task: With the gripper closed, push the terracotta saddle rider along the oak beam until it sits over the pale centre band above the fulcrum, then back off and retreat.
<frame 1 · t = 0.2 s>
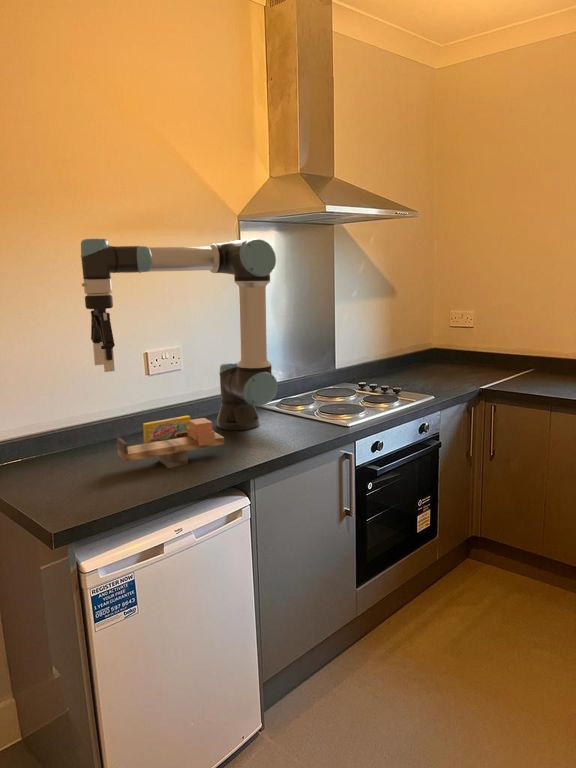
hand: (104, 368, 173), 28 cm above the counter, fingers open, 13 cm apart
beam: (173, 462, 174), on the counter
rider: (200, 431, 177), point 8 cm above the counter, slide at -9.0 cm
candy box: (168, 444, 193), on the counter
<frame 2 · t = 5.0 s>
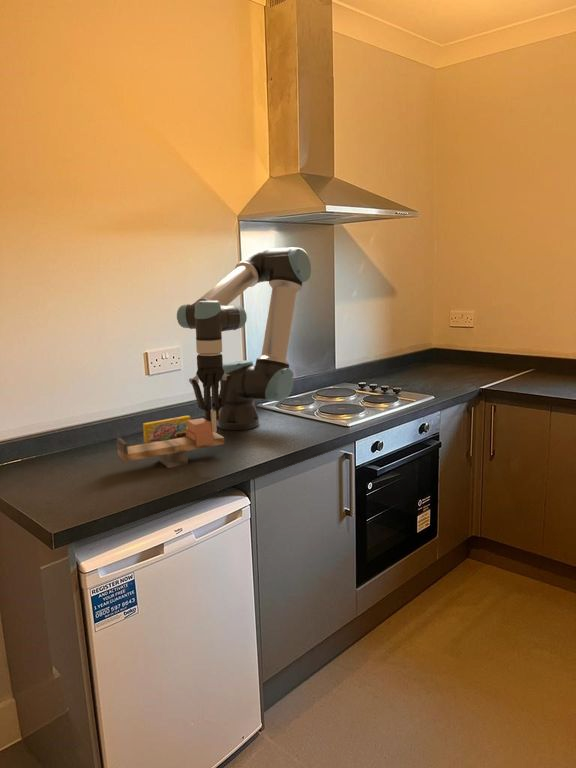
hand: (212, 431, 179), 8 cm above the counter, fingers closed
rider: (199, 431, 177), point 8 cm above the counter, slide at -8.5 cm, touching gripper
everything else where it was.
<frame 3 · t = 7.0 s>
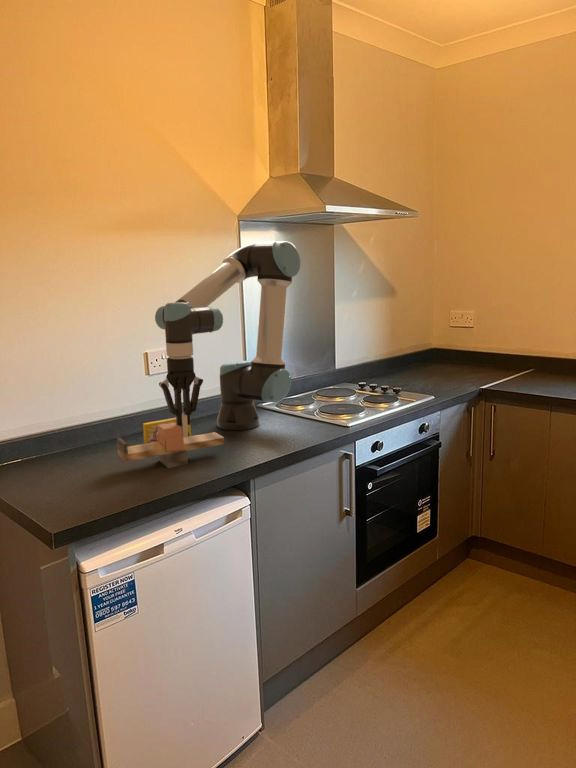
hand: (184, 435, 175), 7 cm above the counter, fingers closed
rider: (169, 436, 173), point 8 cm above the counter, slide at 0.6 cm, touching gripper
everything else where it was.
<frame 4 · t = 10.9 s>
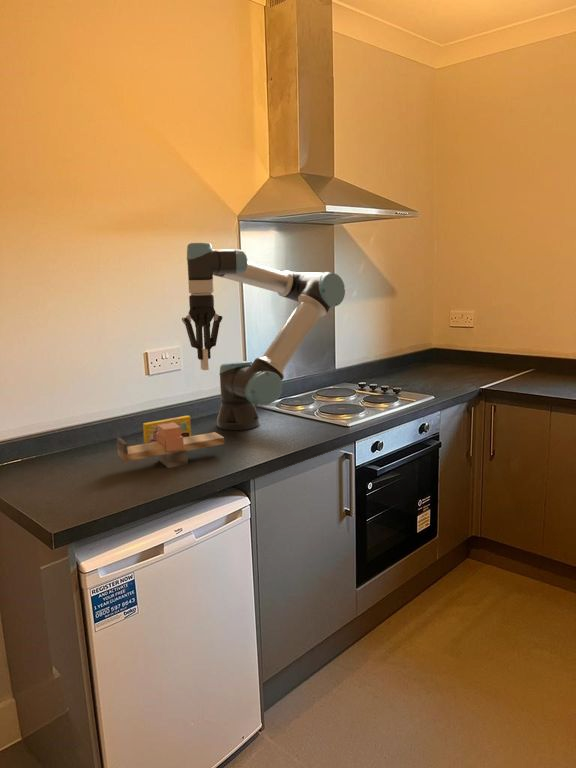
hand: (204, 369, 188), 24 cm above the counter, fingers closed
rider: (169, 436, 173), point 8 cm above the counter, slide at 0.7 cm
everything else where it was.
at the end: rider slide at 0.7 cm; rider touching nothing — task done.
